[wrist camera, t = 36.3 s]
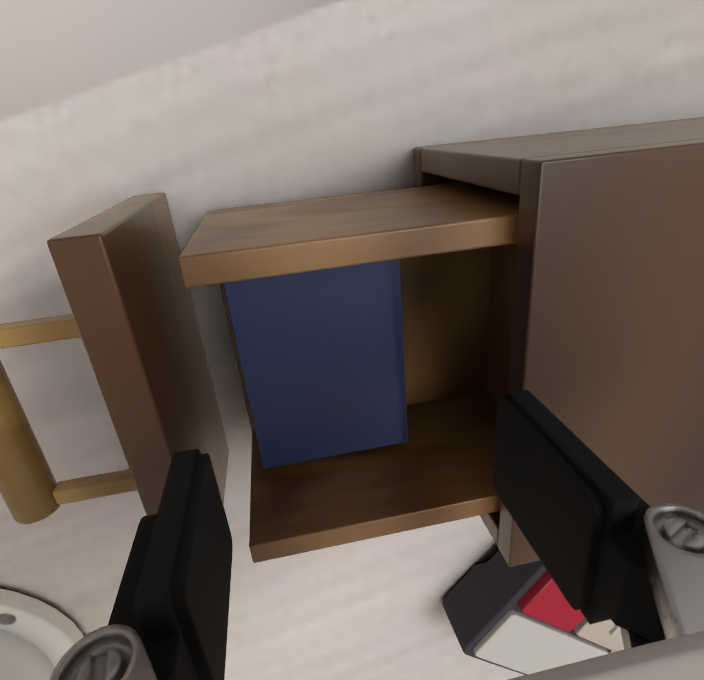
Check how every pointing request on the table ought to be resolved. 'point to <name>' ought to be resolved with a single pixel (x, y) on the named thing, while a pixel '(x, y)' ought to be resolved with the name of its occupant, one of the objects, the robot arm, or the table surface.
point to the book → (322, 360)
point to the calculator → (523, 619)
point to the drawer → (194, 377)
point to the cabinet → (604, 294)
